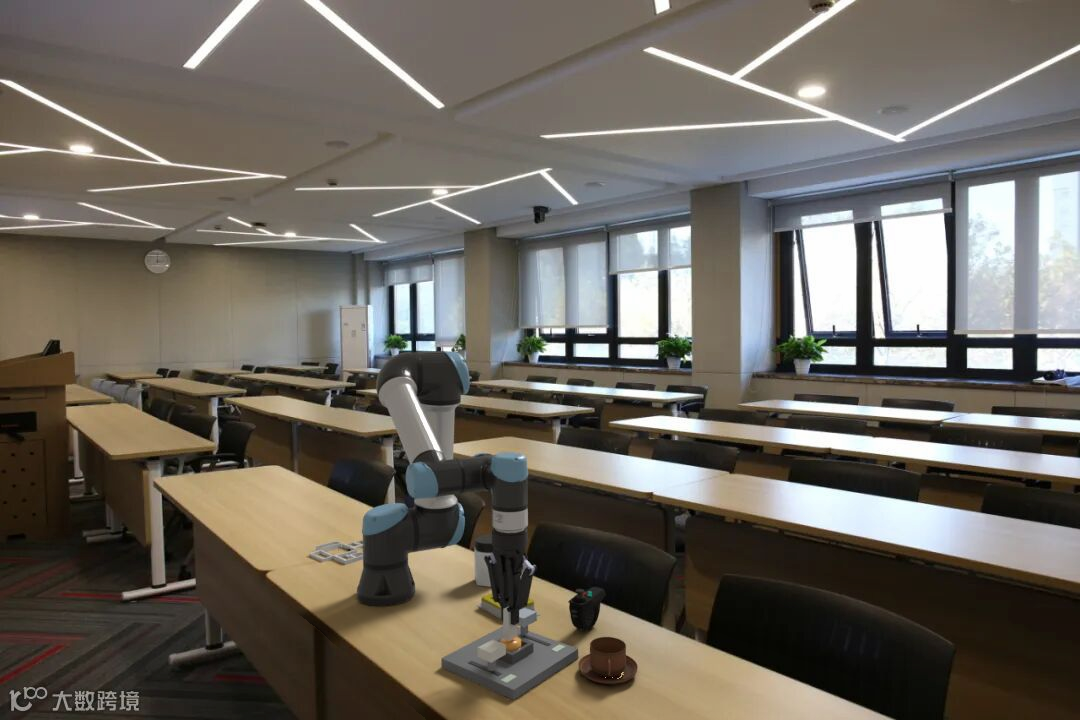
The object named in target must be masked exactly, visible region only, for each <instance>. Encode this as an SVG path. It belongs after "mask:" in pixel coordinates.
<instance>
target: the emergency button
mask: <svg viewBox="0 0 1080 720" xmlns="http://www.w3.org/2000/svg"><path fill="white" fill-rule="evenodd" d="M498 595H499V594H498ZM480 601H481V602H480V603H478V604H477V607H478V608H480V609H482V610H484V611H485V612H487V613H489V614H491V615H493V616H495V617H497V618H498V619H499V620H501V607H500V604H499V603H498V602H494V600H493V595H492V592H491V593H488V594H485V595H483V596H481V600H480ZM524 608H526V609H529V610H532V611H535V612H537V617H538V616H540V615H541V612H539V611H537V610H535V600H534V599H532V598H530V597H529V599H528V604H527V606H526V607H524ZM522 609H523V608H522ZM520 610H521V609H520Z"/></svg>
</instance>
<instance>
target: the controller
mask: <svg viewBox="0 0 1080 720" xmlns="http://www.w3.org/2000/svg"><path fill="white" fill-rule="evenodd" d="M575 593H576V594H575V595H574V596H573V597H572V598H570V599H569V600H568V601H567V602H568V604H569V605H568V609H569V615H570V621H571V623H572V626H573V627H574V628H576V629H577V630H580V631H586V632H587V631H590V630H591V629H593V628H594V626H595V625H596V623H597V622H598V619H599V615H600V611H601V603H602V600H603V599H604V598H605V597H606V596H607V593H606V591H605V589H604V588H603V587H599V586H591V587H590V588H588V589H586V590H585V589H583V588H576V589H575Z"/></svg>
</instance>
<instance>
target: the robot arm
mask: <svg viewBox="0 0 1080 720" xmlns="http://www.w3.org/2000/svg"><path fill="white" fill-rule="evenodd" d="M466 362H467V361H466V360H465V359H464V357H463V356H462V355H461V354H460V353H458V352H456V351H448V350H447V351H444V350H441V351H440V350H437V351H417V352H410V351H407V352H406V351H405V352H401V353H398V354H395V355H393V356H392V357H390V358H389V359H388V360H387V361H386V362H385V363H384V364H383V366H382V367H381V368H380V370H379V371H378V374H377V378H376V383H375V389H376V395H377V396H378V400H379V402H380V404H381V405H382V406H384V407H385V408H387V410H388V413H389V416H390V417H391V420H392V423H393V425H394V428H395V429H396V432H397V435H398V437H399V440H400V442H401V444H402V446H403V450H404V452H405V454H406V457H407V460H408V462H409V465H408V466H407V468H406V472H405V484H406V489H407V492H408V494H409V496H410V497H411V498H412V499H414V502H413V503H414V504H413V507H408V506H407V505H406V503H403V502H402V503H401V502H395V503H394V502H393V503H392V502H391V503H386V504H381V505H378V506H375V507H372V508H371V509H369V510H367V512H365V514H364V515H363V517H362V525H361V526H362V529H361V533H362V540H363V543H362V544H363V547H362V552H363V560H362V563H363V564H362V571H361V575H360V579H359V582H358V585H357V587H356V599H357V601H358V602H360V603H361V604H364V605H367V606H373V607H374V606H375V607H383V606H384V607H385V606H393V605H398V604H401V603H404V602H407V601H409V600H411V599H412V598H413V597H414V596H415V594H416V584H415V583H416V582H415V580H414V577H413V574H412V571H411V568H410V566H409V554H411V553H417V552H423V551H430V550H435V549H445V548H447V547H452V546H455V545H456V544H458V543H459V542H460V540H462V537H463V534H464V530H465V525H466V523H465V522H466V520H465V519H466V517H465V516H464V514H465V511H464V508H463V506H462V504H461V503H459V502H458V498H457V497H456V496H455V495H459V494H460V495H462V494H463V495H464V494H471V493H477V492H485V491H486V492H488V493H490V494H491V526H492V527H493V529H492V530H491V535H492V546H493V547H494V549H493V553H492V554H489V555H487V556H485V557H484V560H485V562H486V565H487V567H488V572H489V578H490V583H491V587H490V588H491V593H492V595H493V600H494V602H498V603H499V604H500V607H501V619H500V620H501V622H502V625H503V626H502V627H503V639H504V640H507V641H510V640H512V639H514V638H515V637H517V627H518V625H517V624H518V623H519V610H520V609H522V608H524V607H526V606H527V604H528V599H529V598H530V594H531V589H532V588H531V587H532V583H533V578H534V575H535V573H536V572H537V570H538V569H537V568H538V566H537V565H536V564H531V563H530V561H528V554H527V550H526V549H527V547H528V544H529V540H528V539H529V538H528V537H529V533H528V531H529V530H528V528H527V527H528V525H529V518H528V517H529V516H528V515H529V512H528V511H529V510H528V505H529V504H528V500H529V499H528V497H529V496H528V491H529V490H528V486H529V479H528V478H529V470H528V458H527V457H526V455H525V454H523V453H519V452H509V451H508V452H499V453H495V454H491V453H487V452H479V453H475V455H473V456H471V457H465V458H464V457H463V458H454V444H455V442H454V441H455V414H456V413H455V412H456V411H455V410H456V408H457V407H459V405H461V402H462V401H461V399H462V396H464V395H467V394H468V392H469V389H470V386H471V385H470V383H471V382H470V372H469V368H468V365H467V363H466ZM498 594H499V595H498Z"/></svg>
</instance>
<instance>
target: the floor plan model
mask: <svg viewBox="0 0 1080 720" xmlns="http://www.w3.org/2000/svg"><path fill="white" fill-rule="evenodd" d="M360 543H362V544H360ZM336 549H337V550H338V552H337V554H331V553H329V552H330V551H333V550H336ZM358 549H363V539H359V540H356V541H352V542H349V543H344V542H341V541H338V540H335V541H330V542H327V543H323V544H318V545H316V546H315V551H313V552H309V553H308V554H309V555H308V556H309V557H310V558H313V559H315V560H317V561H319V562H322V563H325V562H327V561H331V560H332V561H333V560H334V561H336V562H339V563H341V564H344V565H345V564H346V565H349V564H353V563H356V562H359V561H363V551H358ZM341 550H342V551H344V550H347V551H346V552H342V553H339V552H340V551H341ZM318 555H323V556H325V557H321V556H318ZM345 558H347V559H345Z"/></svg>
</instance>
